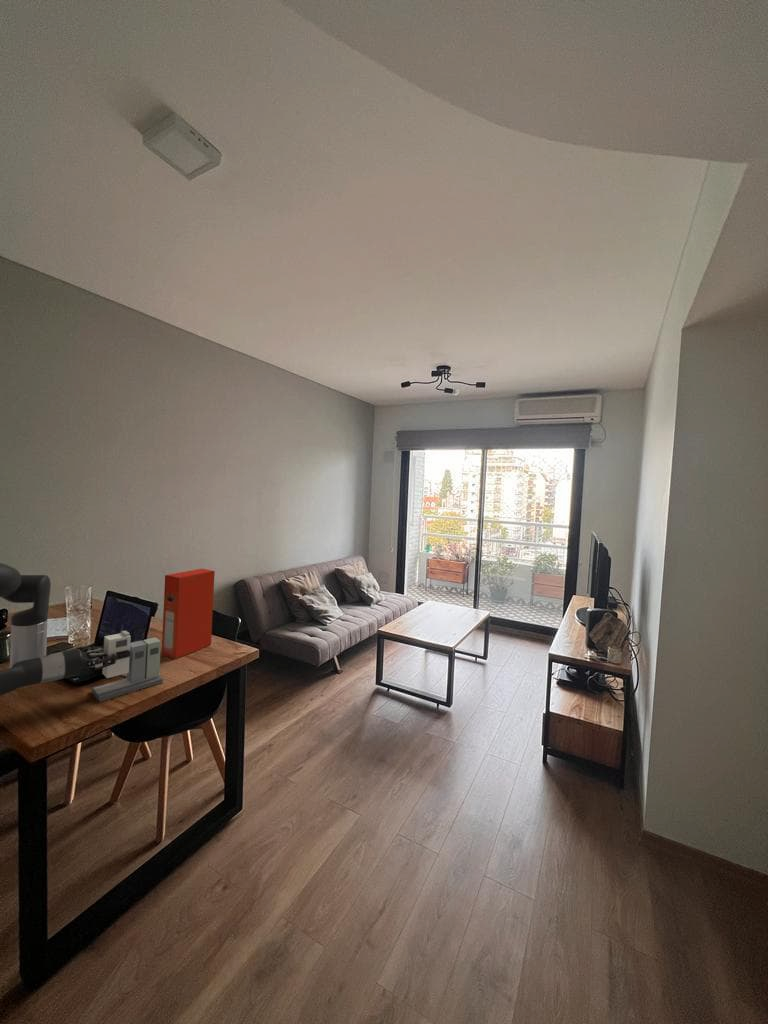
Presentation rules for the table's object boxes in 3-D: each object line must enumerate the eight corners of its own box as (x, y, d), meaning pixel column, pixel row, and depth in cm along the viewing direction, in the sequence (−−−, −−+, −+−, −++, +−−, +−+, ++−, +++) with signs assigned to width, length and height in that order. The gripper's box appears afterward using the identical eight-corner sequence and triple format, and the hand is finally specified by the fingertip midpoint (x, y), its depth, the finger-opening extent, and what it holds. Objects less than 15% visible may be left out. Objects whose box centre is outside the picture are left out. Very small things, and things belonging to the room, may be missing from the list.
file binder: (161, 654, 156) (165, 574, 155) (197, 640, 172) (201, 568, 170) (175, 659, 153) (179, 577, 151) (210, 645, 169) (215, 571, 167)
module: (102, 673, 126) (104, 633, 125) (123, 668, 131) (126, 629, 130) (107, 678, 123) (109, 637, 123) (128, 672, 128) (131, 633, 127)
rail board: (92, 692, 126) (93, 648, 125) (153, 674, 140) (155, 635, 139) (99, 702, 121) (101, 656, 120) (162, 683, 135) (164, 642, 134)
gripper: (67, 660, 111) (135, 646, 124) (54, 645, 120) (119, 633, 133) (65, 686, 111) (134, 669, 124) (53, 669, 120) (118, 655, 133)
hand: (126, 650), depth 129 cm, fingers closed on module, 4 cm apart
